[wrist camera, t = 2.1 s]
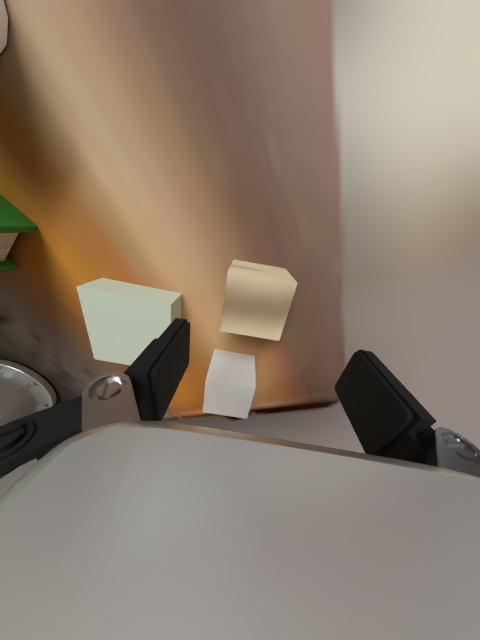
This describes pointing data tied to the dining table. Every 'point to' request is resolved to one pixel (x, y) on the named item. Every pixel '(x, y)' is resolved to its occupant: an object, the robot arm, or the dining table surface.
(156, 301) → the base block
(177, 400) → the dining table surface
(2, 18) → the white cup
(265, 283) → the maple cube
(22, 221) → the hardback book
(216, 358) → the grey cube
